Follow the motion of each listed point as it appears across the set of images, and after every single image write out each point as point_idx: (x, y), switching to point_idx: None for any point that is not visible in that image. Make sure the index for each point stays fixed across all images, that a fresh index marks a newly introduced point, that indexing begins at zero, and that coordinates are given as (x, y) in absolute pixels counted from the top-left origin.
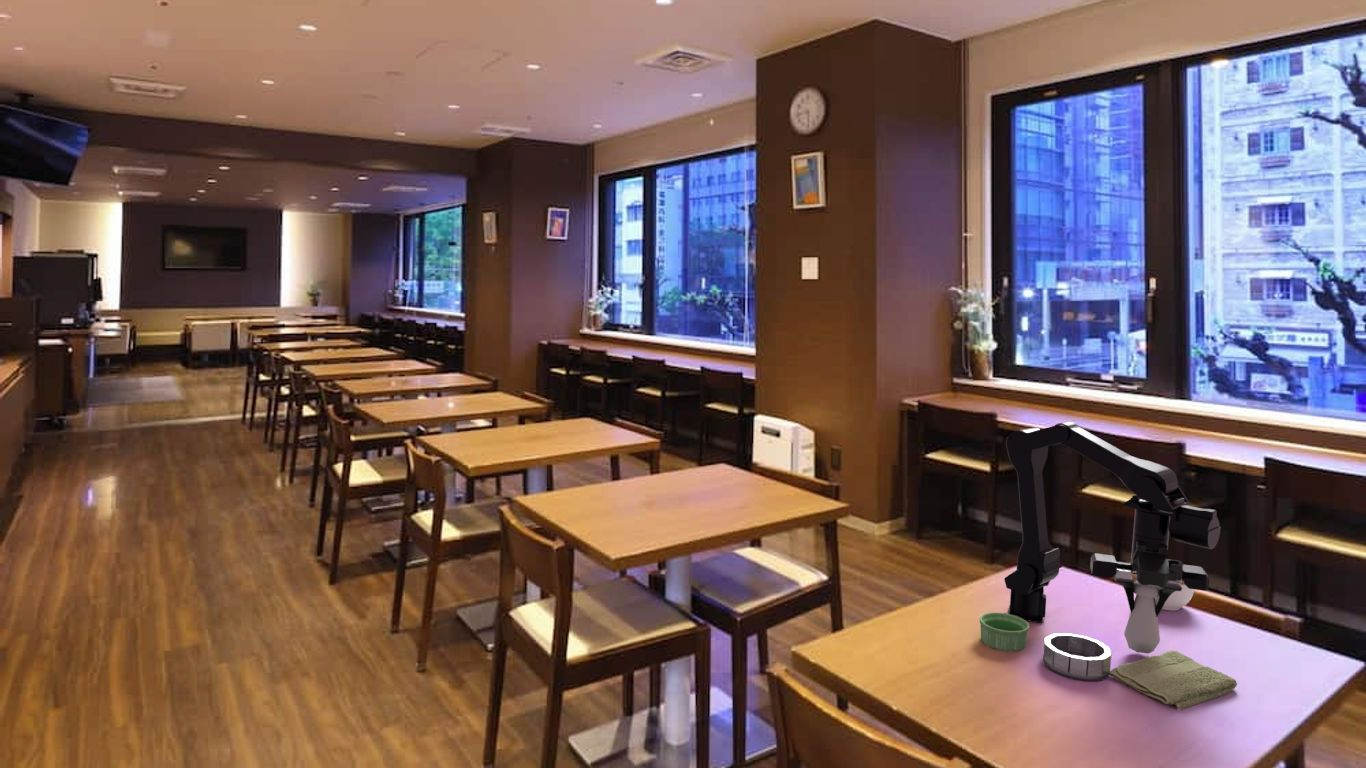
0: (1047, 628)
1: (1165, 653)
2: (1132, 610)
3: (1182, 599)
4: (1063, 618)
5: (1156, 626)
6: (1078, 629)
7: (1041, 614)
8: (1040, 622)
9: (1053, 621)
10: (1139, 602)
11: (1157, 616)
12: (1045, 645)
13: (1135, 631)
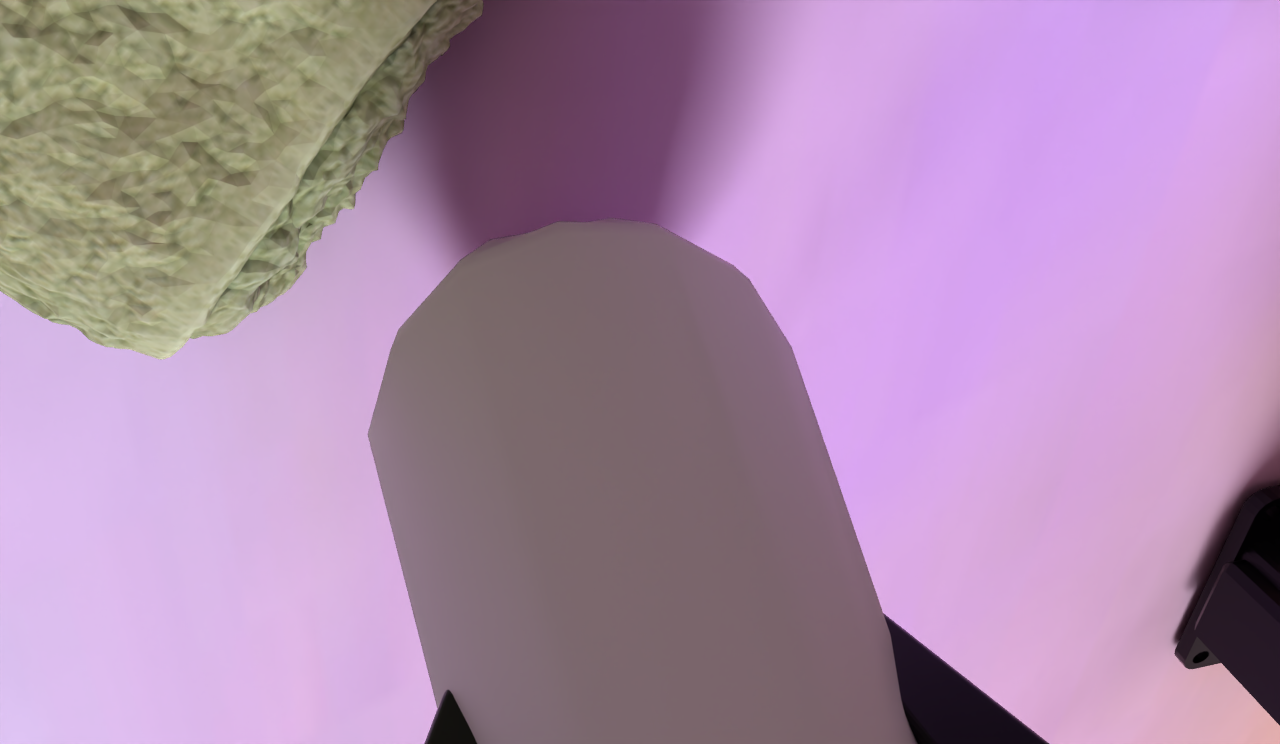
0: (1236, 431)
1: (273, 179)
2: (898, 656)
3: None
4: (1049, 647)
5: (434, 522)
6: (998, 537)
7: (1271, 569)
8: (1265, 489)
9: (1139, 569)
10: None
11: (436, 712)
12: None
13: (731, 333)
